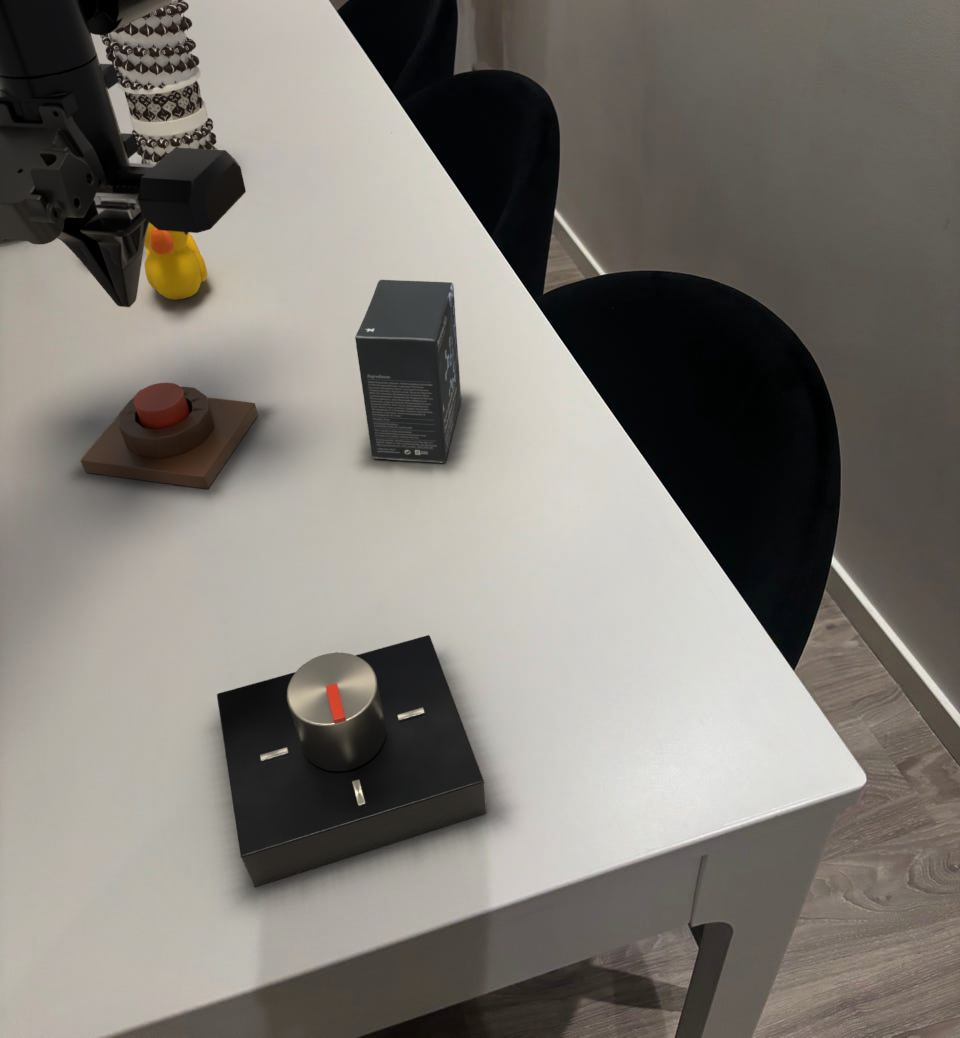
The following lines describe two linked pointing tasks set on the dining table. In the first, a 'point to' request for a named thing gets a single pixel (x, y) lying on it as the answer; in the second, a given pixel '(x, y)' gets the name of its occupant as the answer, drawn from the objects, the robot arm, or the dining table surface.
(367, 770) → the panel
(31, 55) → the robot arm
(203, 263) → the duckling
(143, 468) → the button block
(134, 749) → the dining table surface
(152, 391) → the button
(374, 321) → the box
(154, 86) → the decorative candle
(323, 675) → the knob
